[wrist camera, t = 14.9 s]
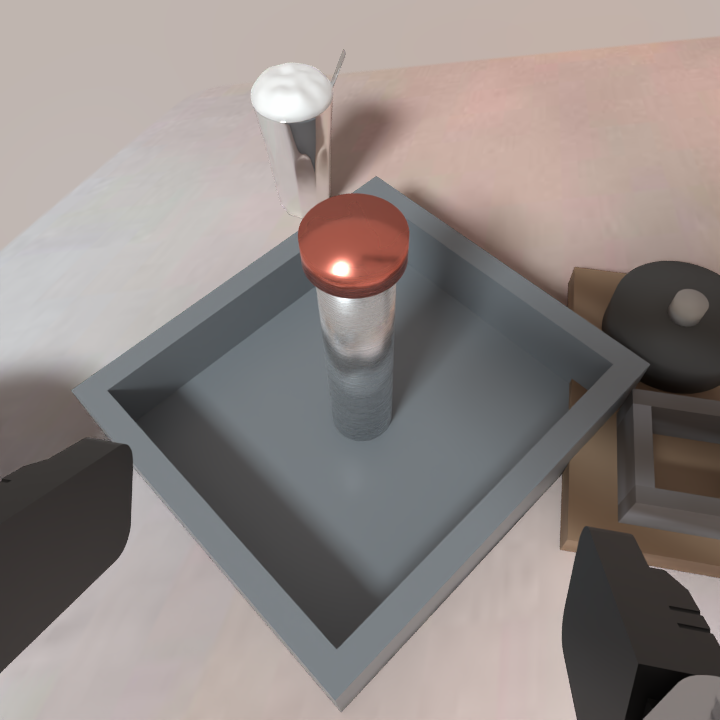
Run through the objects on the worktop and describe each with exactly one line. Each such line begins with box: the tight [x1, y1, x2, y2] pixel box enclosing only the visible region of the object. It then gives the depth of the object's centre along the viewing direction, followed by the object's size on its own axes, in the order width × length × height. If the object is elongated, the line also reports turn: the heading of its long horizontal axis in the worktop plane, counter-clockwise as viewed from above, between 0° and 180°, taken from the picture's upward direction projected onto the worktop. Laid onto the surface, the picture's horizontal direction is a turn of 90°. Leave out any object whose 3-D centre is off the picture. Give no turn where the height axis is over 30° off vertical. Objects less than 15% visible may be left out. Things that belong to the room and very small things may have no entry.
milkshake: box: [251, 49, 346, 218], centre depth 39 cm, size 4×5×10 cm
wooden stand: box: [560, 261, 720, 578], centre depth 33 cm, size 16×10×4 cm, turn 169°
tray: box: [71, 176, 650, 712], centre depth 33 cm, size 20×18×4 cm
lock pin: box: [298, 193, 409, 441], centre depth 28 cm, size 4×4×13 cm
